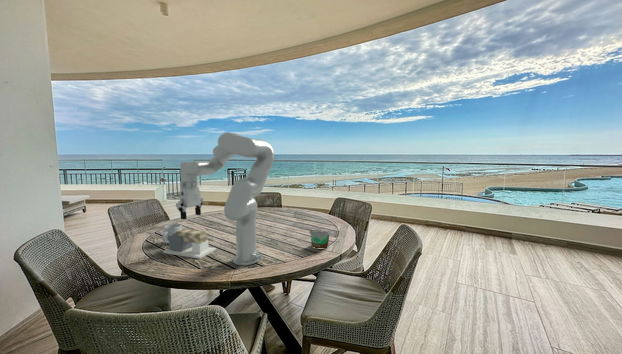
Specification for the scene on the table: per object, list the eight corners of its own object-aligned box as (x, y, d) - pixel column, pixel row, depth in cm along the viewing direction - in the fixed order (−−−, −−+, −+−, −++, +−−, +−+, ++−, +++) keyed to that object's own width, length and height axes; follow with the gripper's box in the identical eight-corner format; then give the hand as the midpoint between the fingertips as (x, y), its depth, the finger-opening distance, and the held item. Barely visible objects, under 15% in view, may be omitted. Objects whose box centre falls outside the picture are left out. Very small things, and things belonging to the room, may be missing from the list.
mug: (171, 239, 144) (171, 223, 143) (185, 240, 143) (184, 224, 142) (156, 247, 132) (155, 229, 131) (170, 247, 131) (170, 230, 130)
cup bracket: (216, 249, 128) (215, 233, 127) (199, 258, 116) (199, 241, 116) (182, 244, 135) (181, 229, 134) (163, 252, 124) (162, 236, 123)
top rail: (206, 241, 124) (205, 232, 124) (200, 243, 121) (200, 234, 120) (182, 237, 129) (182, 229, 129) (176, 240, 125) (176, 231, 125)
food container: (306, 249, 129) (306, 231, 129) (309, 245, 135) (309, 228, 134) (328, 251, 126) (329, 233, 126) (330, 247, 132) (330, 230, 132)
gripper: (181, 186, 113) (183, 221, 114) (207, 183, 130) (208, 213, 131) (169, 186, 115) (171, 220, 117) (196, 183, 132) (197, 213, 133)
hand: (191, 216), depth 124 cm, fingers open, 9 cm apart
